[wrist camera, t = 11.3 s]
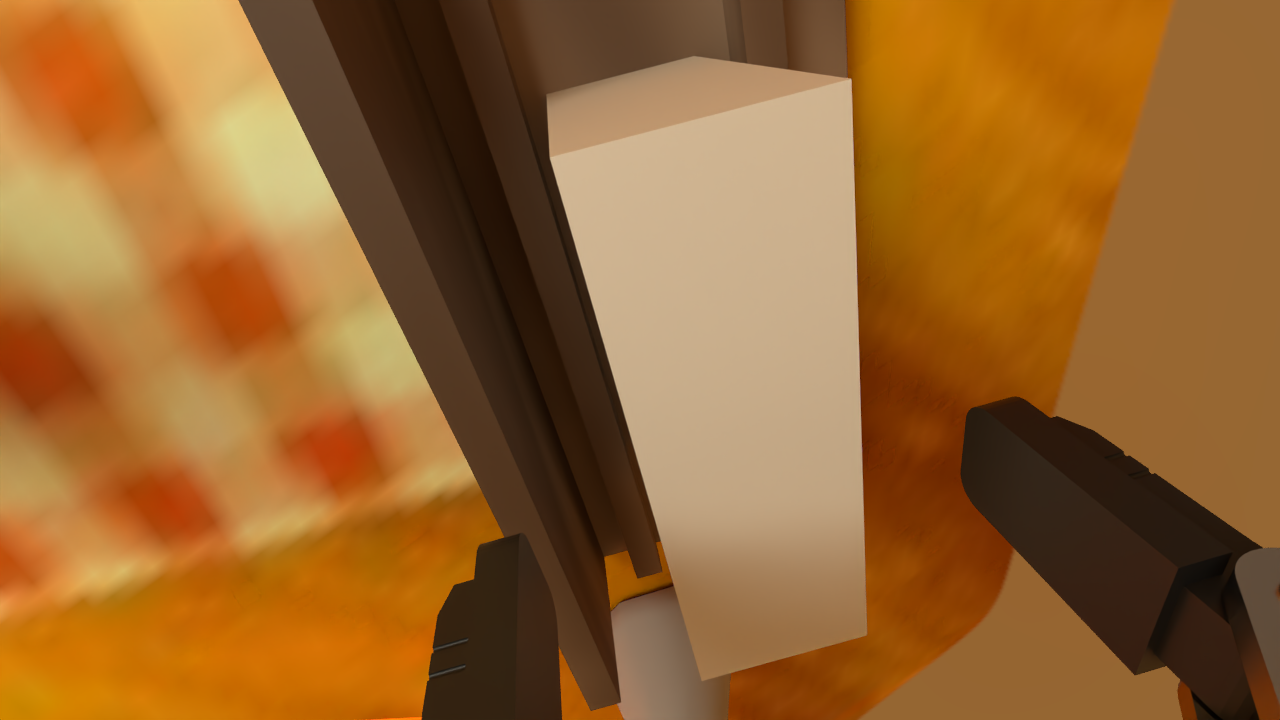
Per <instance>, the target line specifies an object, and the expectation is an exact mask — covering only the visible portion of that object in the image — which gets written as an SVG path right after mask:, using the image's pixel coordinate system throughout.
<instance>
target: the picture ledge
mask: <svg viewBox="0 0 1280 720" xmlns="http://www.w3.org/2000/svg"><path fill="white" fill-rule="evenodd" d="M239 2H240V4H241V6H242V8H243V10H244V12H245V14H246V16H247V18H248V20H249V23H250V25H251V27H252V29H253V31H254V33H255V35H256V37H257V39H258V41H259V43H260V45H261V47H262V49H263V51H264V53H265V55H266V57H267V59H268V61H269V63H270V65H271V67H272V69H273V71H274V73H275V75H276V77H277V79H278V81H279V83H280V85H281V87H282V89H283V91H284V93H285V95H286V97H287V99H288V101H289V103H290V105H291V107H292V109H293V111H294V113H295V115H296V117H297V119H298V121H299V123H300V125H301V127H302V129H303V131H304V133H305V135H306V137H307V139H308V141H309V143H310V145H311V147H312V150H313V152H314V154H315V156H316V158H317V160H318V162H319V164H320V166H321V168H322V170H323V172H324V174H325V176H326V178H327V180H328V182H329V184H330V186H331V188H332V190H333V192H334V194H335V196H336V198H337V200H338V202H339V204H340V206H341V208H342V210H343V212H344V214H345V216H346V218H347V220H348V222H349V224H350V226H351V228H352V230H353V232H354V234H355V236H356V238H357V240H358V242H359V244H360V246H361V248H362V250H363V252H364V254H365V256H366V258H367V260H368V262H369V264H370V266H371V268H372V270H373V272H374V274H375V277H376V279H377V281H378V283H379V285H380V287H381V289H382V291H383V293H384V295H385V297H386V299H387V301H388V303H389V305H390V307H391V309H392V311H393V313H394V315H395V317H396V319H397V321H398V323H399V325H400V327H401V329H402V331H403V333H404V335H405V337H406V339H407V341H408V343H409V345H410V347H411V349H412V351H413V353H414V355H415V357H416V359H417V361H418V363H419V365H420V367H421V369H422V371H423V373H424V375H425V377H426V379H427V381H428V383H429V385H430V387H431V389H432V391H433V393H434V395H435V397H436V399H437V401H438V404H439V406H440V408H441V410H442V412H443V414H444V416H445V418H446V420H447V422H448V424H449V426H450V428H451V430H452V432H453V434H454V436H455V438H456V440H457V442H458V444H459V446H460V448H461V450H462V452H463V454H464V456H465V458H466V460H467V462H468V464H469V466H470V468H471V470H472V472H473V474H474V476H475V478H476V480H477V482H478V484H479V486H480V488H481V490H482V492H483V494H484V496H485V498H486V500H487V502H488V504H489V506H490V508H491V510H492V512H493V514H494V516H495V518H496V520H497V522H498V524H499V526H500V528H501V531H502V533H503V535H504V537H509V536H512V535H516V534H519V533H524V534H525V535H526V537H527V539H528V541H529V543H530V545H531V548H532V550H533V552H534V554H535V557H536V559H537V561H538V563H539V566H540V568H541V570H542V572H543V575H544V577H545V579H546V581H547V583H548V586H549V588H550V591H551V594H552V597H553V601H554V605H555V611H556V617H557V627H558V645H559V647H560V649H561V651H562V653H563V655H564V658H565V660H566V662H567V664H568V666H569V668H570V670H571V672H572V674H573V676H574V678H575V680H576V682H577V684H578V686H579V688H580V690H581V692H582V694H583V696H584V698H585V700H586V702H587V704H588V706H589V708H590V710H591V711H592V710H596V709H599V708H603V707H607V706H610V705H614V704H617V703H621V697H620V688H619V680H618V671H617V663H616V654H615V646H614V637H613V628H612V620H611V611H610V603H609V594H608V585H607V577H606V568H605V560H604V557H605V556H609V555H612V554H616V553H619V552H623V551H627V550H628V552H629V555H630V558H631V561H632V564H633V567H634V570H635V573H636V575H637V578H641V577H645V576H649V575H652V574H656V573H659V572H662V567H661V563H660V558H659V554H658V549H657V545H656V542H659V541H661V539H660V536H659V532H658V529H657V525H656V522H655V519H654V515H653V512H652V508H651V505H650V501H649V498H648V494H647V491H646V488H645V484H644V481H643V477H642V474H641V470H640V467H639V463H638V460H637V457H636V453H635V450H634V446H633V443H632V439H631V436H630V432H629V429H628V426H627V422H626V419H625V415H624V412H623V408H622V405H621V401H620V398H619V395H618V391H617V388H616V384H615V381H614V377H613V374H612V370H611V367H610V363H609V360H608V357H607V353H606V350H605V346H604V343H603V339H602V336H601V332H600V329H599V326H598V322H597V319H596V315H595V312H594V308H593V305H592V301H591V298H590V295H589V291H588V288H587V284H586V281H585V277H584V274H583V270H582V267H581V264H580V260H579V257H578V253H577V250H576V246H575V243H574V239H573V236H572V233H571V229H570V226H569V222H568V219H567V215H566V212H565V208H564V205H563V202H562V198H561V195H560V191H559V188H558V184H557V181H556V177H555V174H554V170H553V167H552V164H551V160H550V153H549V134H548V115H547V96H546V94H549V93H553V92H557V91H561V90H565V89H569V88H572V87H576V86H580V85H584V84H588V83H592V82H596V81H599V80H603V79H607V78H611V77H615V76H619V75H623V74H626V73H630V72H634V71H638V70H642V69H646V68H650V67H654V66H657V65H661V64H665V63H669V62H673V61H677V60H681V59H684V58H688V57H692V56H698V57H705V58H711V59H718V60H725V61H732V62H739V63H746V64H753V65H760V66H767V67H774V68H780V69H787V70H794V71H801V72H808V73H815V74H822V75H829V76H836V77H843V78H848V76H847V48H846V19H845V0H239Z"/></svg>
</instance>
